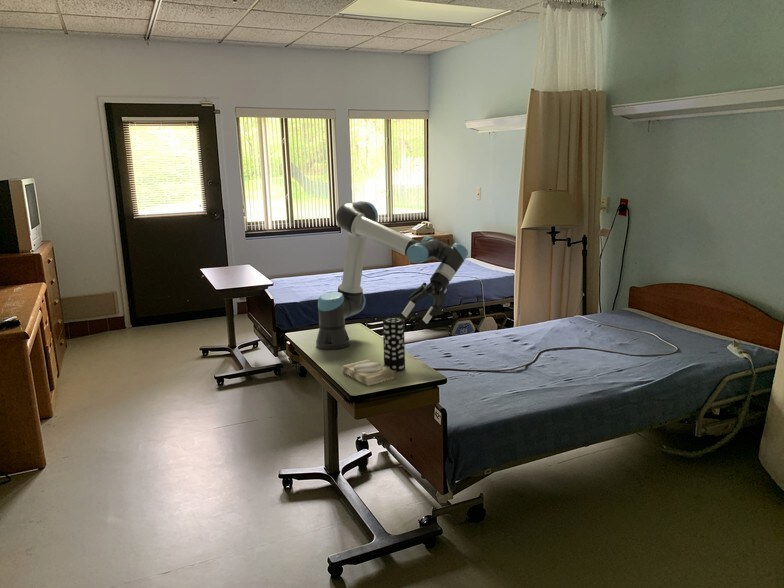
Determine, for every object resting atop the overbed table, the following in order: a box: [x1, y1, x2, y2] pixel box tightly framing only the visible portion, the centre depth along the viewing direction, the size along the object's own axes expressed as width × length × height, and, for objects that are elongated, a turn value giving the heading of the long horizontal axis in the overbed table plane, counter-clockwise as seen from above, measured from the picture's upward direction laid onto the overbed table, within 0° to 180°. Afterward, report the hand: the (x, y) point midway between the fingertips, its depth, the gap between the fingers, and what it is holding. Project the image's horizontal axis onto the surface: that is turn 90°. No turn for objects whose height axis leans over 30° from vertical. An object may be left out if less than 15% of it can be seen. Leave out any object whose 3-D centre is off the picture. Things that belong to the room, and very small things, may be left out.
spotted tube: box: [382, 317, 406, 373], centre depth 233 cm, size 8×8×20 cm
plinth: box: [342, 358, 395, 386], centre depth 228 cm, size 18×12×4 cm, turn 35°
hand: (414, 318), depth 236 cm, fingers open, 13 cm apart
